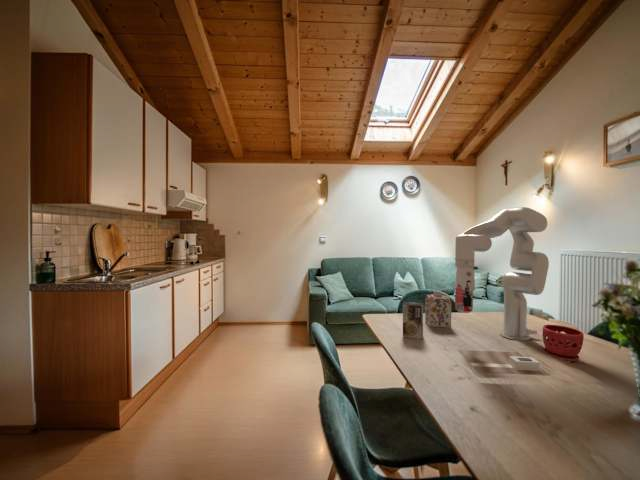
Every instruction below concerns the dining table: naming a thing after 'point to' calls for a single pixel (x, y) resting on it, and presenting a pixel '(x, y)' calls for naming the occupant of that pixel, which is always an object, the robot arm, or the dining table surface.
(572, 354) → the plant pot
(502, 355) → the board
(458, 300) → the soda can
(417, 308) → the coffee box
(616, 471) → the dining table surface
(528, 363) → the block
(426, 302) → the decorative jar
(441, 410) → the dining table surface
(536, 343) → the dining table surface
